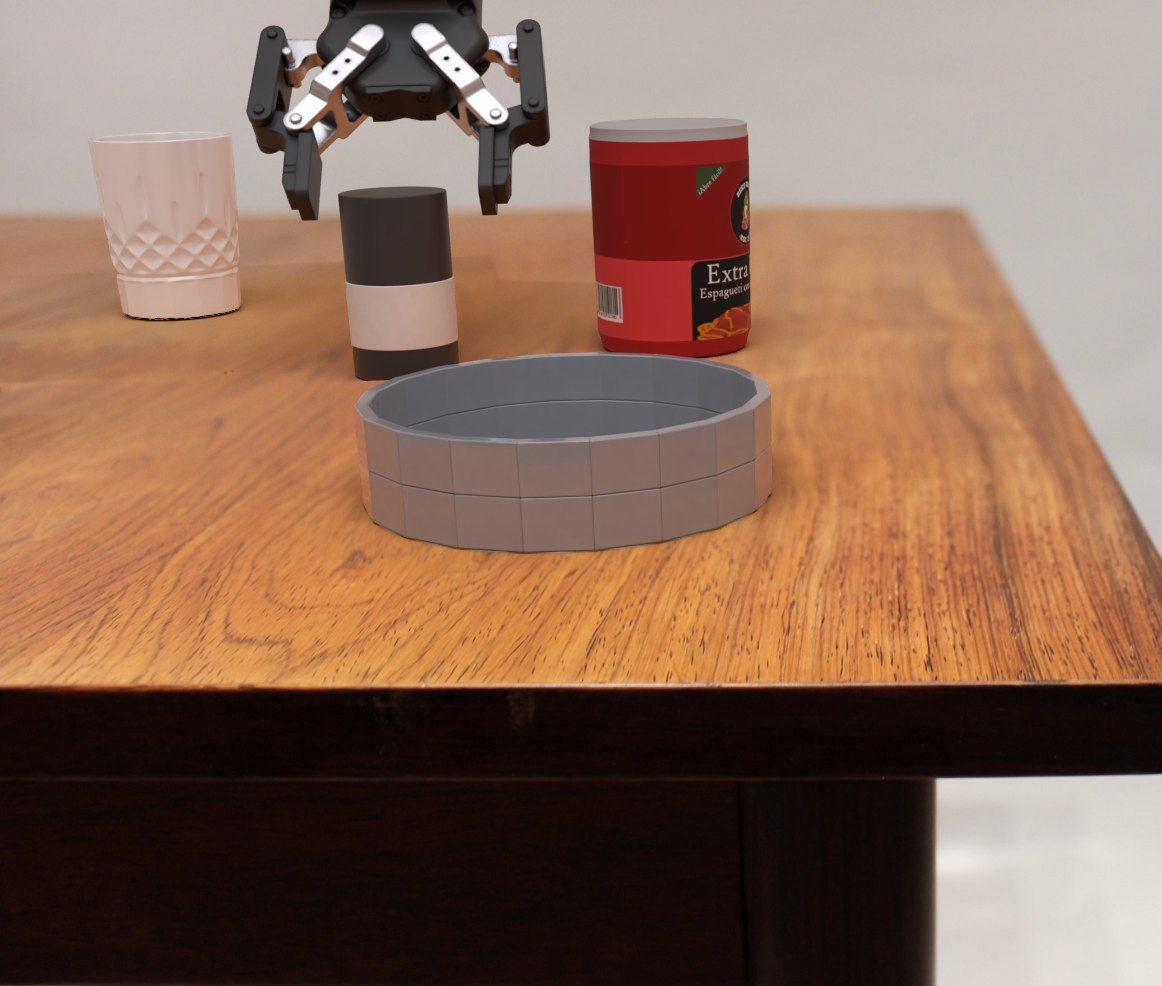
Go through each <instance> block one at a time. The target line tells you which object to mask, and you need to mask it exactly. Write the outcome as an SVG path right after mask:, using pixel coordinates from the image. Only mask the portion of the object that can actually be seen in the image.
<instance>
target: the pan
mask: <svg viewBox="0 0 1162 986" xmlns="http://www.w3.org/2000/svg"><path fill="white" fill-rule="evenodd" d="M353 413H354V422H355V433H356V442H357V444H356V445H357V454H358V464H359V475H360V476H359V477H360V486H361V487H360V488H361V496H362V505H363V507H364V508H365V511H366V514H367V515H368V516H369V518H370V520H371V521H372V522H373V523H375V524H376V525H378V526H379V527H380V528H382V529H383V530H386V531H388V532H390V533H391V534H395V535H397V536H399V537H403V538H405V539H408V540H411V541H416V542H420V543H423V544H427V545H433V546H437V547H443V548H449V549H457V550H465V551H474V552H485V553H486V552H487V553H498V554H499V553H500V554H530V555H531V554H532V555H534V554H535V555H537V554H538V555H539V554H569V553H570V554H572V553H573V554H574V553H591V552H601V551H603V552H604V551H614V550H622V549H623V550H624V549H629V548H630V549H631V548H637V547H643V546H645V547H646V546H651V545H656V544H657V545H658V544H662V543H667V542H668V543H669V542H672V541H673V542H674V541H677V540H682V539H685V538H690V537H694V536H695V537H696V536H698V535H701V534H705V533H708V532H712V531H714V530H718V529H721V528H723V527H726V526H728V525H731V524H733V523H736V522H738V521H741V520H742V519H744V518H746V517H748V516H750V515H751V514H752V513H755V512H756V511H757V510H758V509H760V508H761V507H762V506H763V505H764V504H765V503H766V501H767V500H768V498H769V496H770V495H771V494H772V492H773V477H772V476H773V470H772V469H773V461H772V459H773V457H772V454H773V453H772V449H773V448H772V393H771V390H770V386H769V384H768V380H767V379H765V378H763V377H761V376H759V375H758V374H756V373H754V372H752V371H750V370H748V369H746V368H744V367H739V366H735V365H731V364H728V363H724V362H723V363H722V362H720V361H719V362H718V361H713V360H709V359H705V358H699V357H694V358H689V357H680V356H671V355H662V354H642V353H614V352H611V351H603V352H602V351H595V352H594V351H591V352H560V353H559V352H558V353H557V352H556V353H555V352H553V353H537V354H525V355H516V356H514V355H513V356H503V357H493V358H492V357H491V358H483V359H477V360H472V361H471V360H470V361H464V362H459V363H458V364H452V365H445V366H439V367H434V368H430V369H426V370H422V371H419V372H415V373H411V374H407V375H403V376H399V377H395V378H393V379H391V380H385V381H384V382H382V383H380V384H377V385H376V386H374V387H371V388H368V389H367V390H365V391H363V393H362V394H361V395H360V397H359V398H358V399H357V401H356V402H355V403H354V405H353Z"/></svg>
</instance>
